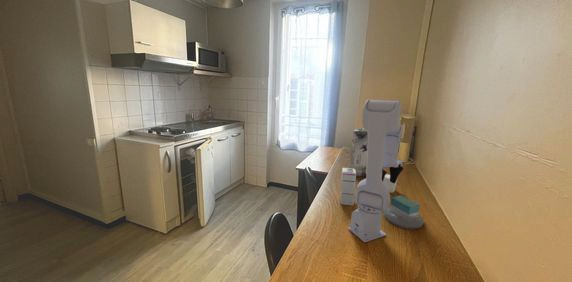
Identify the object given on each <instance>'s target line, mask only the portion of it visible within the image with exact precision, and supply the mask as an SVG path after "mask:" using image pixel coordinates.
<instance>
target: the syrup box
mask: <svg viewBox="0 0 572 282" xmlns="http://www.w3.org/2000/svg"><path fill="white" fill-rule="evenodd" d="M356 184H357V176H356V171H355V169H353V168H350V167H342V168H341V177H340V194H339V201H340V205H346V206H355V194H356V186H357V185H356Z"/></svg>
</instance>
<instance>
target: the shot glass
mask: <svg viewBox="0 0 572 282" xmlns="http://www.w3.org/2000/svg"><path fill="white" fill-rule="evenodd" d="M398 178H399V177H398ZM398 178H397V180H396V182H395V183H392V182H390V173H389V174H388V173H386V175H385V177H384V180H383V182H384V183H385V184H386V185H387V186H388V187H389V190H390V193H395V191H396V187H397V184H398Z"/></svg>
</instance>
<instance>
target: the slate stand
mask: <svg viewBox="0 0 572 282" xmlns="http://www.w3.org/2000/svg"><path fill="white" fill-rule="evenodd" d="M383 212H384V211H383ZM383 217H384V218H385V219H386V220H387V222H389V224H392V225H394V226H396V227H398V228H402V229H406V230H419V229H421V228H423V226H424V221H425V220H424V218H423V216H422V215H421V214H419V213H418V218H417V219H416V220H413V221H410V222H407V221H405V220H403V219H402V218H400V217H398V216H397V215H395V214H393V213H392V212H390V206H388V209H387V210H386V211H385V212H384V213H383Z"/></svg>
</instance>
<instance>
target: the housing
mask: <svg viewBox="0 0 572 282" xmlns="http://www.w3.org/2000/svg"><path fill="white" fill-rule="evenodd" d="M389 205H390V206H389V207H390V212H392V213H393V214H395V215H397V216H398V217H400V218H402V219H403V220H405V221H407V222H410V221H413V220H416V219H417V218H418V214H419V212H420V211H419V210H420V204H419V203H417V202H415V201H413V200H412V199H409V198H408V197H407V198H406V197H405V196H403V195H401V194H400V195H395V196H392V197H391V196H390V202H389Z"/></svg>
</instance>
